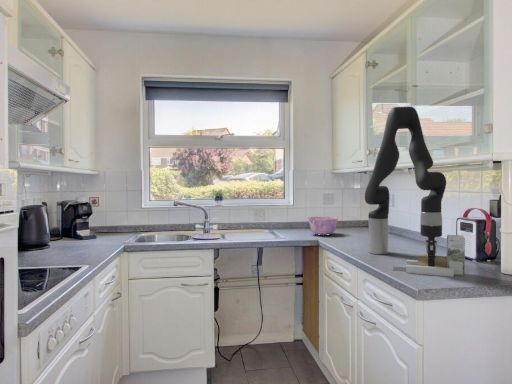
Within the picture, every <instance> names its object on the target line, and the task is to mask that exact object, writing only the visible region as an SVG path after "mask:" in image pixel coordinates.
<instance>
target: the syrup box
mask: <svg viewBox="0 0 512 384" xmlns="http://www.w3.org/2000/svg"><path fill="white" fill-rule="evenodd" d="M465 253H466V238H465V236H464V235H459V234H447V235H446V257H447V268H454V276H465V269H466V268H465V265H466V264H465V263H466V261H465V260H466V259H465V258H466V257H465V255H466V254H465Z"/></svg>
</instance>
